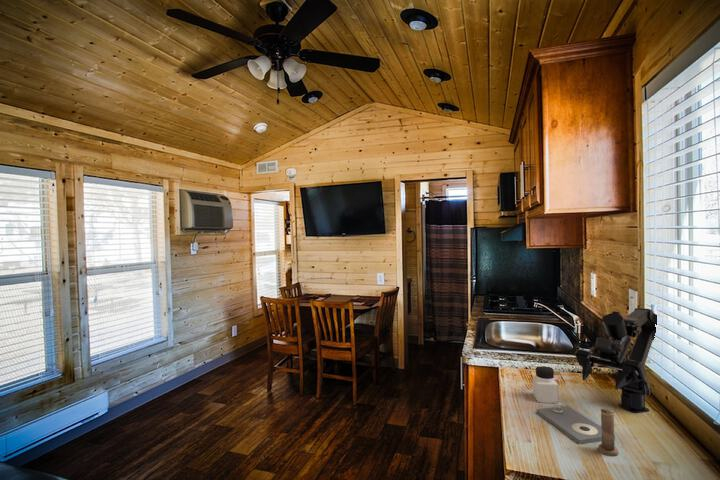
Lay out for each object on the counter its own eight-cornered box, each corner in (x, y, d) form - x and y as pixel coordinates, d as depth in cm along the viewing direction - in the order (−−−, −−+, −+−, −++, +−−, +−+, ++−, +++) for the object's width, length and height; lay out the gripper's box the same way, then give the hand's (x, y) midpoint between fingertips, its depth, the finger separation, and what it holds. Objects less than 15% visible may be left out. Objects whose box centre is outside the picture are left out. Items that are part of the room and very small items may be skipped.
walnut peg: (608, 445, 109) (607, 406, 109) (622, 454, 105) (621, 414, 105) (594, 448, 109) (593, 408, 108) (608, 457, 104) (606, 416, 104)
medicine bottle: (558, 403, 137) (557, 371, 137) (537, 402, 138) (536, 370, 138) (552, 395, 144) (552, 364, 144) (533, 394, 145) (532, 363, 145)
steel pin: (558, 408, 130) (558, 399, 130) (565, 413, 127) (565, 403, 127) (550, 409, 130) (550, 400, 130) (557, 414, 127) (556, 404, 127)
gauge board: (567, 409, 133) (567, 405, 133) (614, 438, 113) (614, 434, 113) (536, 413, 131) (536, 409, 130) (579, 444, 111) (579, 439, 111)
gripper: (579, 324, 128) (560, 357, 121) (644, 335, 113) (627, 373, 105) (588, 348, 132) (571, 382, 124) (653, 361, 116) (637, 400, 109)
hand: (599, 383), depth 116 cm, fingers open, 9 cm apart
